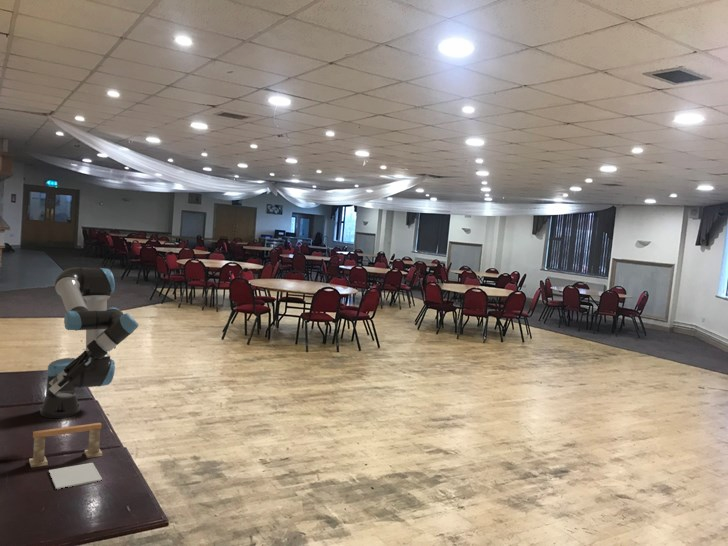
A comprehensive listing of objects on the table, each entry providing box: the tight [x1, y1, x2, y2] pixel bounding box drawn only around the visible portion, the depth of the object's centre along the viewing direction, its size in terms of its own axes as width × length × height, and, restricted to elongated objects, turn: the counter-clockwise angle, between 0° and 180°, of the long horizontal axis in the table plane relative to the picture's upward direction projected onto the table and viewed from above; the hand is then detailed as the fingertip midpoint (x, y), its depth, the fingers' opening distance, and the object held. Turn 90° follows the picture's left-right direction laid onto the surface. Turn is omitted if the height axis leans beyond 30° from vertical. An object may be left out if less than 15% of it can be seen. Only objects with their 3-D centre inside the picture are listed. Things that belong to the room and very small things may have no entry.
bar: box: [32, 422, 103, 439], centre depth 200 cm, size 22×2×2 cm, turn 129°
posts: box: [28, 429, 103, 469], centre depth 200 cm, size 23×5×10 cm, turn 129°
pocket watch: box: [53, 372, 75, 398], centre depth 210 cm, size 8×8×10 cm
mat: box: [48, 462, 103, 490], centre depth 189 cm, size 14×14×1 cm
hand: (51, 388), depth 208 cm, fingers closed on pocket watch, 7 cm apart
